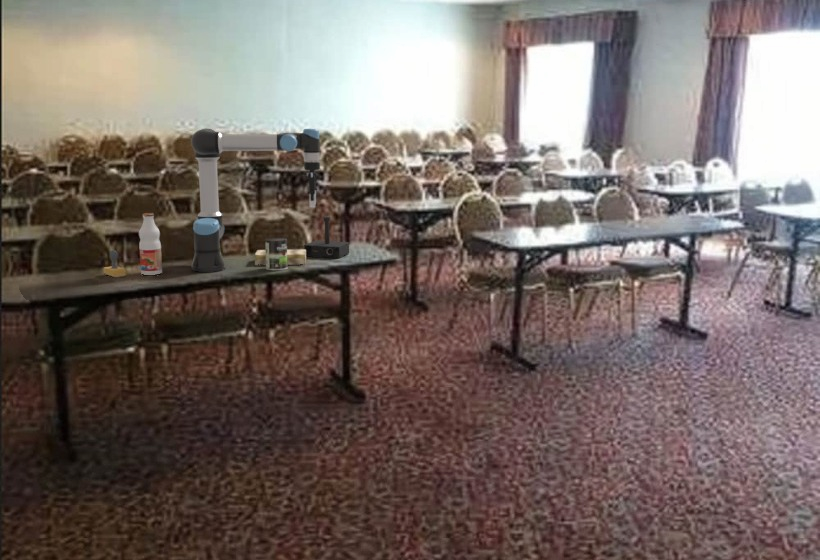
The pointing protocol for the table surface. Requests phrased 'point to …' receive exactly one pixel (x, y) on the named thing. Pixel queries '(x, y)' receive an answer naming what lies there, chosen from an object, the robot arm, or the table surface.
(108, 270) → the rubber stamp
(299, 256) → the beige flat block
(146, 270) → the fruit juice
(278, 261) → the coffee can
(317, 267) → the table surface
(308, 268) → the table surface
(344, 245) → the projector
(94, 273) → the table surface
